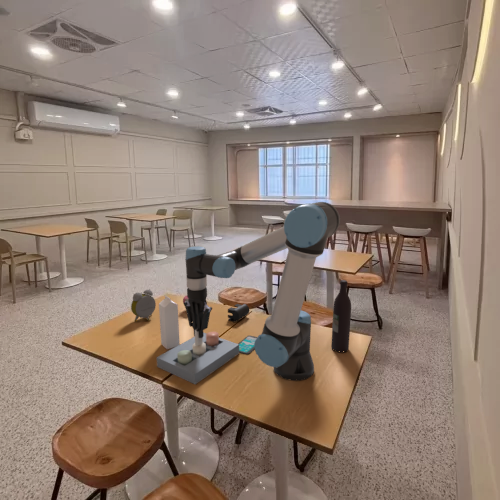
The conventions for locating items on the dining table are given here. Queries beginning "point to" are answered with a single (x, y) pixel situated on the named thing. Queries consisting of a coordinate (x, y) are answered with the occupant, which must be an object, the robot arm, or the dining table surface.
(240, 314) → the end cap
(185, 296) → the apple
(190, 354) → the button sage
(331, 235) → the robot arm
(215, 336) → the button terracotta
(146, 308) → the alarm clock
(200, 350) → the button cream
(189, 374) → the console
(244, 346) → the smartphone
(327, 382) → the dining table surface
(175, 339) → the milk
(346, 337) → the wine bottle
